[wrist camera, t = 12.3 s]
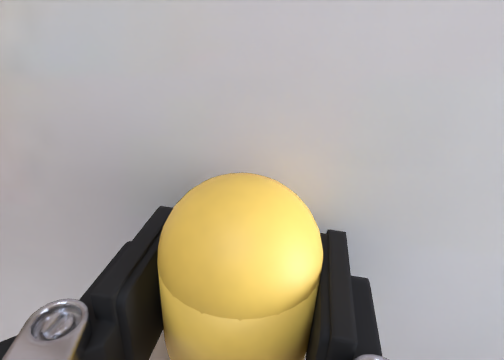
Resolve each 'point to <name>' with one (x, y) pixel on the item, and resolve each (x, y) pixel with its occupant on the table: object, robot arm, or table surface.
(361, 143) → the table surface
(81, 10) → the table surface
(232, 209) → the tulip
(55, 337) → the robot arm
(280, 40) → the table surface
